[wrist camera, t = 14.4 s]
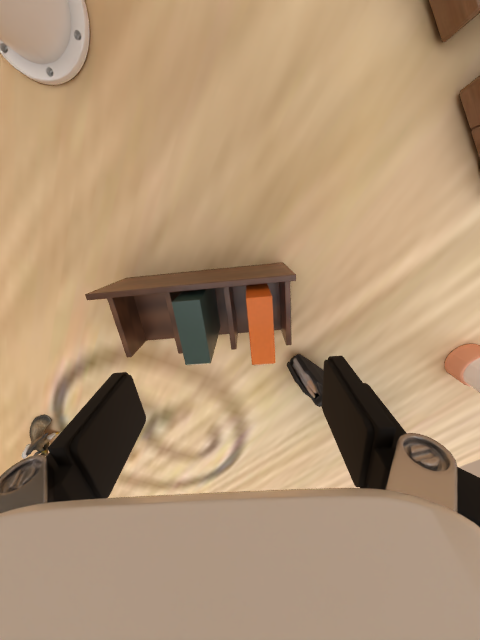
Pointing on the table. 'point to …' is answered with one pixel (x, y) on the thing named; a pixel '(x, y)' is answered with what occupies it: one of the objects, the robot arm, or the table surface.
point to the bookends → (451, 15)
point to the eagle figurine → (39, 437)
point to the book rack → (160, 290)
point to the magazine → (307, 377)
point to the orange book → (260, 324)
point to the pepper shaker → (465, 365)
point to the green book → (197, 324)
